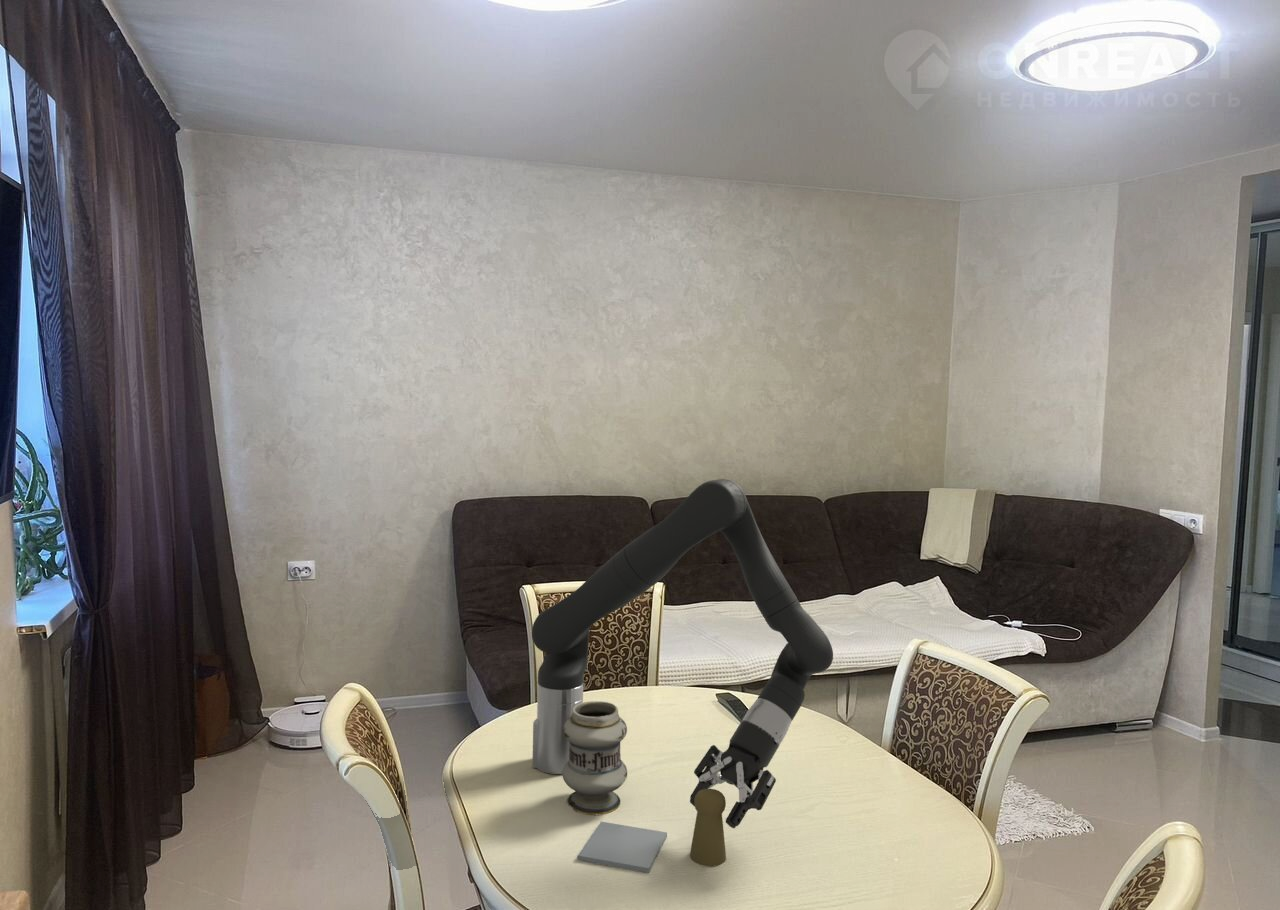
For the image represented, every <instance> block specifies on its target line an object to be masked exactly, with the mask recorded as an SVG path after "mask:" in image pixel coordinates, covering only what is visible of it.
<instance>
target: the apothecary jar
mask: <svg viewBox="0 0 1280 910" xmlns="http://www.w3.org/2000/svg"><path fill="white" fill-rule="evenodd" d="M563 732H564V735H565V737H566V739H567V740H568V741H569V760H568V761H567V763H566V764H565V765H564V768H563V771H562V774H561V775H562V779H563V781H564V783H565V784H566V785H567V786H568V787H569V788H570V789H571V790H572V791H573V792H571V794H570V795H569V796H568V797H567V805H568V806H569V807H572V810H573V811H574V810H575V812H577V813H579V814H584V815H591V816H595V815H596V814H598V816H599V814H601V815H606V814H609V812H610V813H612V812H614V811H616V810H617V809H618V808H619V807H620V805H621V798H620V797H619V795H618V794H617V793H616V792H615V791H617V790H618V789H619V788H620V787H621V786H622V785H624V783H625V782H626V780H627V778H628V769H627V766H626V764H625V763H624V761H623V760H622V759H621V742H622V741H623V740H624V739H625V737H626V735H627V732H628V726H627V723H626V722H625V720H624V719H623V718H622V717H621V716H620V714H619V708H618V707H617V705H615V704H614V703H611V702H608V701H601V700H599V701H598V700H592V701H591V700H590V701H583V703H580V704H578V705H576V706H575V707H574V708H573V711H572V716H571V717H570V718H569V719H568V720H567V721H566V723H565V724H564V727H563ZM605 813H606V814H605Z"/></svg>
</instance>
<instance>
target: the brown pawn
mask: <svg viewBox="0 0 1280 910" xmlns="http://www.w3.org/2000/svg"><path fill="white" fill-rule="evenodd" d="M726 802H727V800H726V797H725V795H724V793H722V792H721V791H720V790H718V789H715V788H708V789H703V790H700V791H698V793H697V794H696V796H695V799H694V805H695V807H694V809H695V810H696V815H695V816H696V817H695V822H694V828H693V835H692V841H691V846H690V851H689V852H690V853H689V858H690V859H691V861H693V862H694V863H695V864H696V865H697V864H698V865H699V866H703V867H716V866H720V865H722V864H724V863H725V862H726V860H727V854H726V853H727V851H726V843H725V832H724V821H723V812H724V811H725V809H726V806H727V804H726Z"/></svg>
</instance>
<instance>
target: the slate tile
mask: <svg viewBox="0 0 1280 910" xmlns="http://www.w3.org/2000/svg"><path fill="white" fill-rule="evenodd" d="M667 837H668V832H666V831H660V830H653V829H650V828H649V829H648V828H642V827H637V826H631V825H624V824H620V823H613V822H607V821H600V822H599V824H598V825H597V827H596V828H595V829H594V831H593V833H592V834H591V835H590V837H589V839H588V840H587V842H586V843H585V844H584V846H583V847H582V849H581V850H580V851H579V853H578V855H577V861H580V862H585V861H586V863H590V864H598V865H602V866H608V867H614V868H619V869H623V870H624V869H625V870H629V871H636V872H641V873H647V874H649V873H650V872H651V870H652V868H653V866H654V864H655V861H656V860H657V858H658V855H659V854H660V851H661V850H662V848H663V846H664V844H665V842H666V840H667Z"/></svg>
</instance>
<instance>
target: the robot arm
mask: <svg viewBox="0 0 1280 910" xmlns="http://www.w3.org/2000/svg"><path fill="white" fill-rule="evenodd" d="M717 532H720V533H721V534H722V535H723V536H724V537H725V539H726V540H727V542H728V543H729V545H730V546H731V548H732V549H733V552H734V554H735V556H736V558H737V560H738V562H739V566H740V569H741V572H742V575H743V578H744V580H745V581H744V582H745V584H746V586H747V588H748V591H749V594H750V596H751V597H752V600H753V601H754V603H755V605H756V606H757V608H758V610H759V612H760V614H761V615H762V617H763V618H764V620H765V622H766V624H767V625H768V626H769V629H771V630H773V631H775V632H778V633H780V634H781V635H782V637H783V638H784V639H785V641H786V642H787V643H786V644H785V646H784V647H783V648H782V650H781V652H779V655H778V658H777V660H776V662H775V664H774V667H773V669H772V672H771V675H770V678H769V680H768V681H767V682H766V684H765V685H764V687H763V688H762V690H761V692H760V693H759V695H758V696H757V698H756V700H755V701H754V702H753V704H752V705H751V706H750V707H749V709H748V710H747V711H746V713H745V715H744V716H743V718H742V719H741V721H740V723H739V724H738V726H737V728H736V729H735V730H734V733H733V734H732V736H731V737H730V739H729V744H728V747H727V749H726V750H725V751H722V750H721V749H719V748H718V747H717V746H716V745H715V744H712V745H711V746H710V747H709V749H708V750H707V752H706V753H705V754H704V756H703V757H702V759H701V760H700V762H699V763H698V764H697V766H696V768H695V769H694V770H693V773H694V775H695V776H696V777H697V778H698V782H697V785H696V786H695V788H694V789H693V791H692V793H691V795H690V798H689V803H690V804H691V805H692V806H693V807H694V808H695V805H694V799H695V796H696V794H697V793H698V791H700V790H703V789H712V788H713V787H714V786H716V785H718V784H719V785H720V784H721V785H722V784H724V783H726V784H729V785H733V786H734V787H736V788H737V789H738V801H736V802H735V803H734V805H733V807H732V808H731V810H730V812H729V814H728V815H727V817H726V818H725V823H726V824H727V825H728V827H730V828H732V829H735V828H736V827H738V826H739V825H741V823H742V821H743V819H744V817H745V815H746V814H747V812H748V811H749V810H751V809H753V810H757V811H761V810H763V807H764V806H765V803H766V801H767V799H768V798H769V795H770V794H771V792H772V789H773V788H774V786H775V784H776V781H777V779H776V777H775V776H774V775H773V774H772V773H771V771H770V770H769V769H765V768H767V767H768V766H769V764H770V762H771V761H772V759H773V758H774V756H775V754H776V752H777V750H778V749H779V747H780V746H781V744H782V742H783V740H784V738H785V737H786V735H787V734H788V731H789V728H790V727H791V724H792V722H793V721H794V719H795V717H796V715H797V713H798V712H799V710H800V708H801V706H802V705H803V703H804V700H805V697H806V694H805V690H804V689H805V688H806V685H807V683H808V681H809V679H810V678H811V677H812V675H815V674H820V673H823V672H826V670H828V669H829V668H830V666H831V665H832V663H833V660H834V650H833V647H832V644H831V642H830V640H829V637H828V636H827V634H826V633H825V632H824V630H823V629H822V628H821V626H819V625H818V623H816V621H815V620H814V619H813V617H812V616H811V615H810V614H808V612H807V611H806V610H805V609H804V608H803V607H802V605H801V603H800V602H799V600H798V597H797V596H796V594H795V592H794V591H793V589H792V587H791V586H790V583H788V581H787V579H786V577H785V575H784V574H783V573H782V570H781V569H780V567H779V565H778V564H777V562H776V560H775V558H774V556H773V555H772V553H771V551H770V549H769V547H768V545H767V543H766V541H765V539H764V537H763V536H762V533H761V530H760V528H759V526H758V524H757V522H756V519H755V515H754V514H753V511H752V508H751V506H750V503H749V501H748V498H747V496H746V493H745V492H744V489H743V488H742V487H741V486H740V485H739V484H738V483H737V482H735V481H733V480H731V479H726V478H719V479H718V478H717V479H714V480H713V479H711V480H708V481H705V482H703V483H702V484H700V485H699V486H697V487H696V488H694V490H693V491H692V492H691V493H690V494H689V495H688V496H687V497H686V498H685V499H684V500H683V501H682V502H681V503H680V505H678V506H677V507H676V508H675V509H674V510H673V511H672V512H671V513H670V514H669V515H668V516H666V517H665V518H664V519H663V520H662V521H660V522H659V523H657V524H655V525H654V526H652V527H651V528H649V529H648V530H646V531H645V532H643V533H642V534H641V535H639V536H638V537H637V538H635V539H633V540H632V541H631V542H629V543H628V544H627V545H625V546H624V547H623V548H622V549H620V550H619V551H618V552H617V553H616V554H614V555H613V556H611V557H610V558H609V560H607V561H606V562H605V563H604V564H602V565H601V566H600V567H599V568H598V569H596V571H595V572H594V573H593V574H592V575H590V576H589V578H587V580H585V581H584V582H583V583H582V584H581V585H580V586H579V587H578V588H577V589H576V590H574V591H573V592H571V593H570V594H569V595H568V596H566V597H564V598H562V599H561V600H560V601H558V602H557V603H555V604H553V605H552V606H550V607H548V608H546V609H544V610H542V611H541V612H540V613H539V614H538V615H537V617H536V618H535V620H534V621H533V625H532V628H531V639H532V641H533V644H534V646H535V647H536V648H537V649H538V650H539V651H541V652H543V653H545V656H544V659H543V661H542V663H541V665H540V666H539V668H538V671H537V704H536V705H537V708H536V709H537V710H536V719H534V721H532V723H533V724H532V762H531V763H532V764H531V765H532V768H535V769H537V770H539V771H540V772H543V773H547V774H550V775H551V774H552V775H562V771H563V768H564V765H565V764H566V763H567V761H568V760H569V741H568V740H567V739H566V737H565V735H564V732H563V727H564V724H565V723H566V721H567V720H568V719H569V718H570V717H571V716H572V711H573V708H574V707H575V706H576V705H578V704H580V703H583V702H584V676H585V673H586V670H587V666H588V659H589V645H590V644H589V642H590V628H591V627H592V626H593V625H594V624H596V623H597V622H598V621H599V620H601V619H603V618H605V617H606V616H608V615H610V614H612V613H613V612H616V611H617V610H619V609H621V608H623V607H624V606H626V605H628V604H629V603H631V602H632V601H634V600H635V599H637V598H639V597H640V596H641V595H642V594H644V593H646V592H647V591H648V590H649V589H651V588H652V587H653V586H655V585H656V584H657V583H658V582H660V581H661V580H662V579H663V578H665V576H666V575H667V574H668V573H670V571H671V570H672V569H673V567H674V566H675V565H676V564H677V563H678V561H679V560H681V558H682V557H683V556H684V555H685V554H686V553H687V552H688V551H689V550H691V549H692V548H694V547H695V546H697V544H699V543H701V542H703V541H704V540H705V539H707V538H709V537H710V536H712V535H714V534H716V533H717ZM764 769H765V770H764ZM756 781H758V782H757V784H756V785H755V787H754V782H756Z"/></svg>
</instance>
